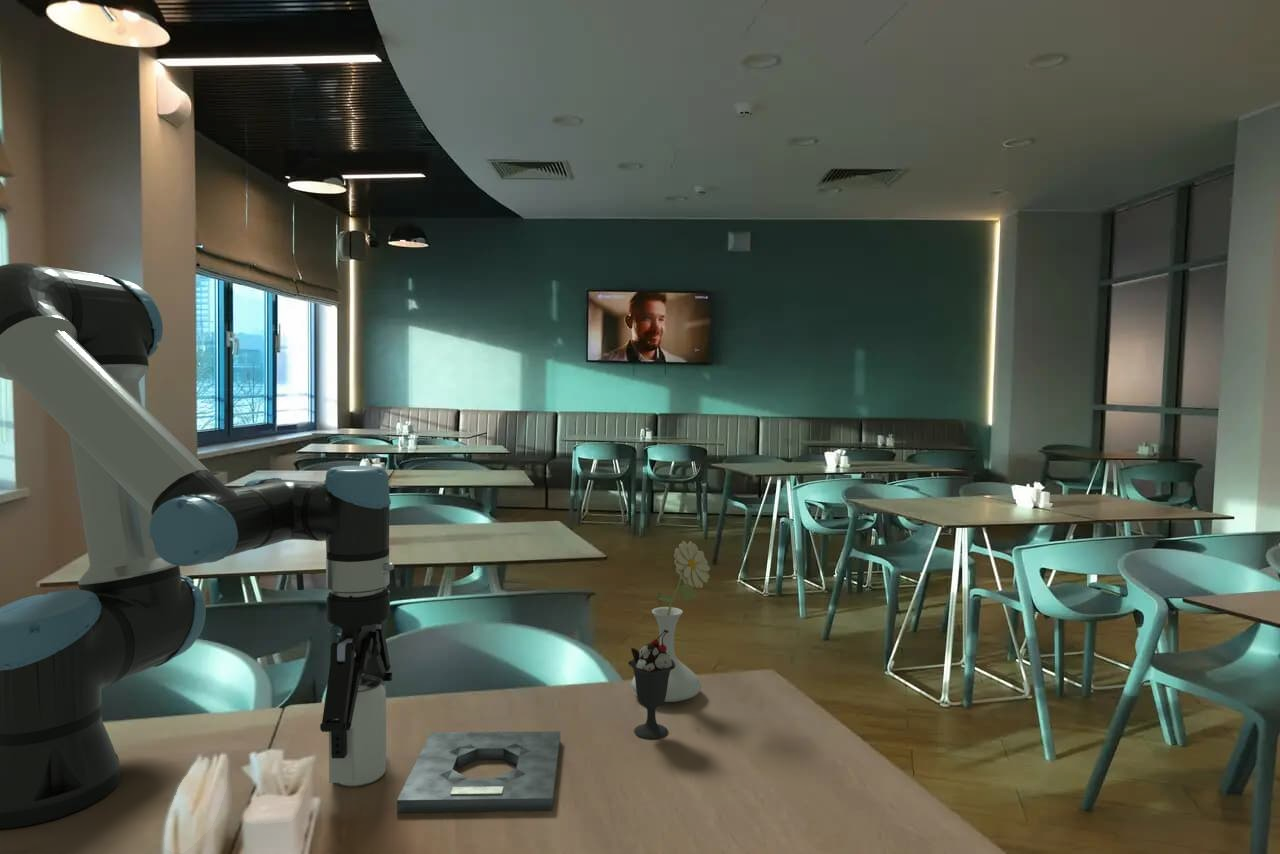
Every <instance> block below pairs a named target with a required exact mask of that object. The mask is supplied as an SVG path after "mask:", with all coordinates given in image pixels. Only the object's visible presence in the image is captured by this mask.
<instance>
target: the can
mask: <svg viewBox="0 0 1280 854" xmlns="http://www.w3.org/2000/svg"><path fill="white" fill-rule="evenodd" d="M335 720H339V719H335ZM351 726H354V776H355V779H354V781H353V782H342V783H336V784H337V785H339V786H342V787H346V788H357V787H364V786H368V785H371V784H372V783H376V782H377V781H379V780H380V779H381V778H382V777H383V775H384V774H385V773H386V770H387V692H385V689H384V687H383V685H382V679H381V678H380V677H377V676H372V675H364V674H362V675H361V676H360V681H359V687H358V692H357V697H356V702H355V707H354V712H353V717H352V722H351Z"/></svg>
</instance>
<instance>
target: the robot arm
mask: <svg viewBox="0 0 1280 854" xmlns="http://www.w3.org/2000/svg"><path fill="white" fill-rule="evenodd" d="M163 330H164V325H163V318H162V315H161V312H160V309H159V307H158V305H157V304H156V302H155V300H154V299H153V297H152V296H151V295H150V294H149V293H148V292H147V291H146V290H144V289H143V288H142V287H140V286H139V285H138V284H136V283H133V282H132V281H128V280H126V279H123V278H118V277H115V276H112V275H109V274H105V273H90V272H84V271H76V270H72V269H71V270H70V269H64V268H57V267H52V266H45V265H42V264H35V263H29V262H15V263H13V262H12V263H8V264H2V265H0V378H1V379H3V380H8V381H15V382H16V383H17V384H18V385H20V386H21V387H22V388H23V390H25V391H26V393H28V394H29V395H30V396H31V398H33V399H34V401H36V402H37V403H38V404H39V406H41V407H42V408H43V410H45V411H46V413H48V414H49V415H50V416H51V417H52V418H53V420H55V421H56V423H58V424H59V426H61V427H62V428H63V429H64V430H65V431H66V432H67V433H68V434H69V440H70V445H71V453H72V459H73V465H74V470H75V471H74V472H75V477H76V485H77V490H78V496H79V503H80V504H79V505H80V511H81V517H82V518H81V519H82V523H83V530H84V536H85V543H86V550H87V556H88V563H89V567H88V569H87V570H86V572H85V573H83V574H82V576H81V577H80V579H78V581H77V582H78V583H77V585H78V589H64V590H54V591H50V592H47V593H45V594H35V595H30V596H28V597H23V598H20V599H17V600H14V601H12V602H9V603H6V604H5V605H2V606H0V829H1V830H2V829H12V828H21V827H27V826H31V825H37V824H42V823H44V822H48V821H52V820H55V819H59V818H62V817H65V816H68V815H70V814H73V813H77V812H78V811H80V810H83V809H85V808H88V806H91V805H93V804H95V803H96V802H99V801H100V800H102V799H103V798H105V797H106V796H107V795H109V794H110V793H111V792H112V791H113V790H114V789H115V788H116V787H117V785H118V784H119V782H120V780H121V773H120V772H121V769H120V767H121V764H120V758H119V756H118V753H116V750H115V748H114V745H113V742H112V740H111V737H110V735H109V733H108V731H107V729H106V727H105V725H104V722H103V718H102V712H103V711H102V689H103V688H105V687H108V686H110V685H113V684H115V683H117V682H120V681H122V680H125V679H127V678H129V677H132V676H134V675H137V674H139V673H141V672H145V671H146V670H149V669H151V668H157V667H160V666H163V665H164V664H166V663H168V662H170V661H171V660H173V659H174V658H176V657H178V656H179V655H182V654H183V653H185V652H186V651H187V650H189V649H190V648H191V647H192V646H193V645H194V644H195V642H196V641H197V640H198V639H199V637H200V635H201V633H202V631H203V629H204V625H205V620H206V615H207V614H206V611H207V610H206V608H207V607H206V602H205V597H204V594H203V592H202V590H201V588H200V587H199V586H198V585H195V581H194V580H193V579H192V578H191V577H189V576H187V575H184V574H181V568H180V567H190V566H191V567H192V566H196V565H202V564H205V563H206V564H208V563H209V564H210V563H216V562H218V561H221V560H223V559H225V558H227V557H230V556H233V555H237V554H240V553H243V552H244V553H245V552H247V551H251V550H256V549H261V548H263V547H267V546H270V545H274V544H277V543H281V542H284V541H285V542H286V541H291V540H293V541H294V540H298V541H299V540H300V541H316V542H317V541H318V542H323V541H325V549H326V550H325V551H326V555H325V556H326V558H325V559H326V560H325V588H326V589H327V590H328V591H329V592H328V593H327V594H326V620H327V622H328V623H329V624H330V625H332V626H334V627H338V628H340V629H341V635H340V637H339V639H338V642H332V643H331V645H330V659H329V660H330V662H329V663H330V665H329V671H328V677H327V678H328V679H327V685H326V693H325V698H324V705H323V713H322V720H321V723H320V725H319V729H320V731H321V732H322V733H323V732H324V733H327V732H328V769H329V770H328V772H329V774H328V777H329V778H328V779H329V780H328V782H329V783H331V784H332V783H335V784H337V783H342V782H353V781H354V779H355V776H354V726H351V722H352V717H353V712H354V707H355V702H356V697H357V692H358V687H359V681H360V676H361V675H372V676H377V677H380V678H381V679H382V685H383V687H384V689H385V692H386V690H387V689H386V686H387V685H386V682H392V680H393V672H390V670H391V662H390V656H389V650H388V644H387V643H388V642H387V639H386V633H385V625H384V623H385V621H387V619H388V618H389V617H390V615H391V591H390V590H389V589H388V588H387V587H388V585H389V584H390V572H391V571H393V570H394V569H395V565H394V563H393V562H390V508H391V503H392V499H391V498H390V482H389V474H388V472H387V471H386V469H384V468H383V467H380V466H378V465H341V466H334V467H331V468H329V469H328V470H327V471H326V473H325V480H324V481H322V480H319V481H314V480H313V481H312V480H299V479H298V480H297V479H296V480H294V479H282V478H280V477H272V478H267V479H266V478H262V479H261V478H260V479H259V478H257V479H252V480H249V481H247V482H246V483H244V485H242V486H240V487H235V488H229V487H228V486H226V485H225V484H224V483H223V482H222V481H221V480H220V479H219V478H218V477H216V476H215V475H214V473H212V472H211V471H210V469H208V468H207V467H206V466H205V465H204V464H203V463H202V462H201V461H200V459H198V458H197V457H196V456H195V455H194V454H193V453H192V451H190V450H189V449H188V448H187V447H186V446H185V445H184V444H183V443H182V442H181V441H179V439H177V437H176V436H174V435H173V434H172V433H171V432H170V431H169V430H168V429H167V428H166V427H165V426H164V425H163V424H162V423H161V422H160V421H159V420H158V419H157V417H155V416H154V414H152V413H151V412H149V410H148V408H147V409H146V407H145V406H144V405H143V404H142V397H141V390H140V381H141V379H143V377H144V376H145V375H146V374H147V373H148V372H149V371H150V365H149V359H148V358H151V356H153V355H154V354H155V352H156V351H157V350H158V348H159V345H158V343H160V342H161V341H162V339H163V332H164V331H163ZM386 693H387V692H386ZM335 719H339V720H335Z"/></svg>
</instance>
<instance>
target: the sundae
mask: <svg viewBox="0 0 1280 854" xmlns="http://www.w3.org/2000/svg"><path fill="white" fill-rule="evenodd" d="M664 632H666V633H668V631H667V630H664ZM664 632H663V633H664ZM663 633H662V634H663ZM666 633H665V634H666ZM662 634H661V635H662ZM665 634H664V635H663V637H664V636H665ZM661 635H660V634H659V636H658V637H657V638H654V639H652V640H651V642H650V643H645V645H643V646H642V647H641V648H640V650H639V649H637V648H635V647H631V648H630V649H631V653H632V656H633V658H632V659H631V660H630V661H628V665H629V667H631V668H632V669H633V675H634V676H635V681H636V691H637V693H636V695H637V696H636V697H637V700H638V701H639V703H640V704H641V705H642V706H643V707H644V708H646V710H647V711H646V715H647V716H646V721H645V723H643V724H640V725H637V726H635V728H634V730H633V732H634V734H635V735H636V736H638V737H639V738H641V739H645V740H658V739H663V738H664V737H666V736H667V735H668V733H669V729H668V728H667V727H666V726H664V725H662V724H659V723H657V718H656V710H657V709H658V708H659V707H661V706H662V705H663V703H665V702H664V701H665V698H666V693H667V687H668V679H669V674H670V671H671V670H672V669H674V668H675V663H674V661H673V660H672V659H671V658H670V655H669V654H667V653H666V649H667V647H666V646H665V645H663V637H662V645H660V637H661Z"/></svg>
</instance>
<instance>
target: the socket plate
mask: <svg viewBox="0 0 1280 854" xmlns="http://www.w3.org/2000/svg"><path fill="white" fill-rule="evenodd" d="M560 746H561V731H558V730H557V731H555V730H551V731H547V730H546V731H541V730H540V731H467V732H466V731H450V732H447V731H446V732H439V731H438V732H436V731H435V732H430V733H429V735H428V737H427V739H426V741H425V742H424V745H423V747H422V749H421V751H420V753H419V755H418V756H417V759H416V761H415V763H414V764H413V767H412V769H411V772H410V773H409V775H408V777H407V778H406V781H405V783H404V785H403V787H402V789H401V791H400V793H399V795H398V797H397V799H396V813H397V814H399V813H400V814H403V813H404V814H405V813H406V814H407V813H409V814H410V813H467V812H471V813H475V812H477V813H478V812H481V813H482V812H483V813H484V812H485V813H486V812H541V811H542V812H545V811H547V812H549V811H550V812H551V811H553V808H554V807H553V806H554V800H555V791H556V783H557V774H558V773H557V772H558V765H559V764H558V763H559V756H560V748H561V747H560ZM477 760H504V761H506V762H508V763H510V764H512V765H514V766H515V767H516V768H515V769H512V770H510V771H507V772H505V773H503V774H500V775H499V776H496V777H466V776H465V775H463V774H462V773H460V772H458V771H457V770H458V768H461V767H464V766H466V765H467V764H471V763H473V762H475V761H477Z"/></svg>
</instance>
